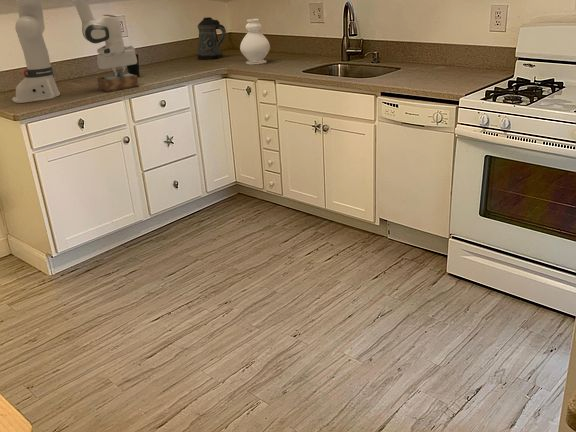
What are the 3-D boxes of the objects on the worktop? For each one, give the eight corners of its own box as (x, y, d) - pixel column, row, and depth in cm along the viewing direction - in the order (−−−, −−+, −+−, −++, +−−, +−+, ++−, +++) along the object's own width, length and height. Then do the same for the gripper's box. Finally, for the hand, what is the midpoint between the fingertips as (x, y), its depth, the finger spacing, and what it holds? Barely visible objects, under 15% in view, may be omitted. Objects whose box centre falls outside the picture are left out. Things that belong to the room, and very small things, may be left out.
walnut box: (107, 92, 300) (105, 80, 297) (99, 89, 308) (97, 77, 305) (138, 86, 309) (136, 75, 307) (129, 84, 317) (127, 72, 315)
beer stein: (195, 57, 392) (190, 17, 382) (224, 54, 397) (220, 15, 386) (199, 61, 377) (195, 19, 367) (229, 58, 382) (225, 17, 372)
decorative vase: (270, 64, 352) (267, 20, 342) (240, 65, 352) (236, 21, 342) (271, 59, 368) (268, 17, 358) (242, 60, 369) (239, 18, 359)
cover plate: (110, 82, 300) (109, 73, 299) (104, 80, 307) (103, 72, 305) (136, 77, 308) (135, 69, 306) (129, 75, 314) (128, 67, 313)
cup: (127, 78, 333) (123, 56, 328) (127, 76, 340) (124, 54, 335) (141, 77, 334) (138, 55, 329) (141, 75, 341) (138, 53, 336)
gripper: (131, 44, 309) (135, 71, 315) (93, 50, 298) (98, 78, 303) (136, 45, 304) (141, 73, 310) (98, 51, 293) (103, 79, 299)
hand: (119, 75), depth 307 cm, fingers closed on cover plate, 2 cm apart
